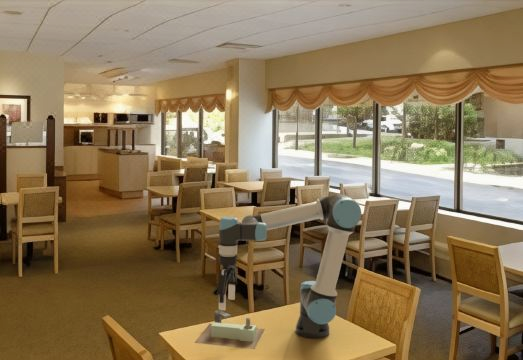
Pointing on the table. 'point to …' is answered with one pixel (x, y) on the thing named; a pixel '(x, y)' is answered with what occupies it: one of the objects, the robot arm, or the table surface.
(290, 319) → the table surface
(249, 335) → the link
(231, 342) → the pintle board
